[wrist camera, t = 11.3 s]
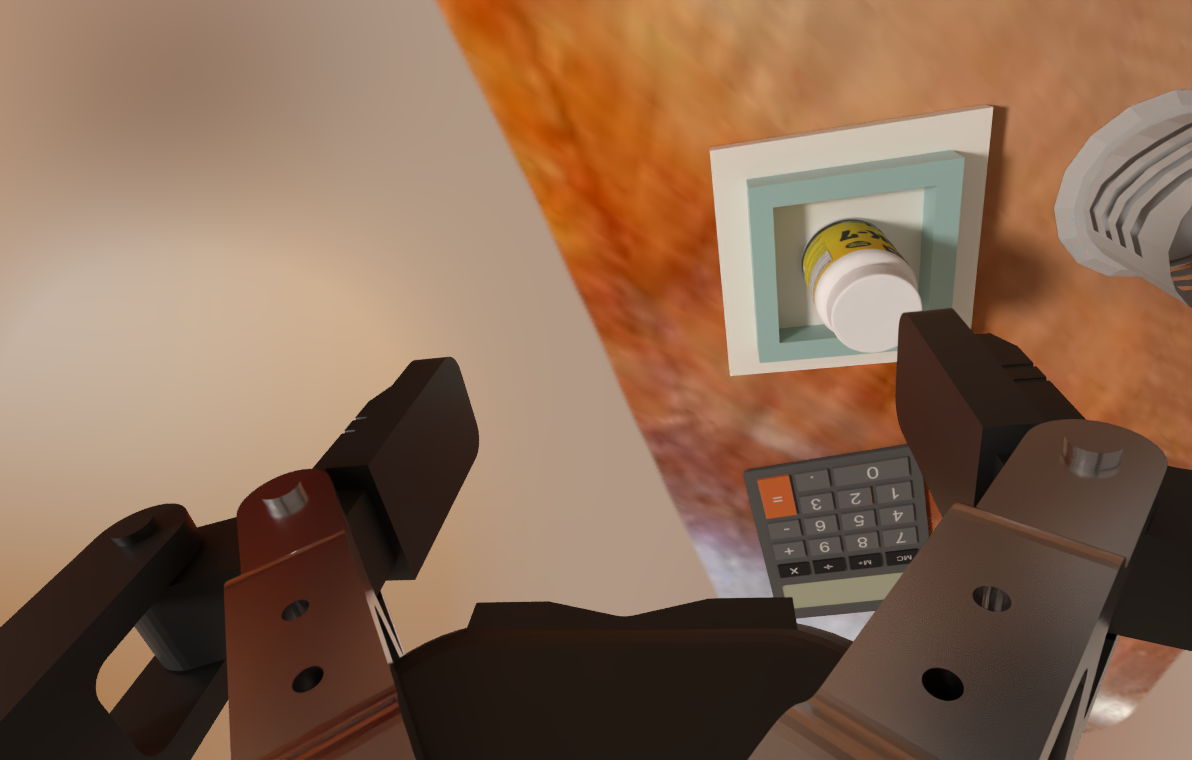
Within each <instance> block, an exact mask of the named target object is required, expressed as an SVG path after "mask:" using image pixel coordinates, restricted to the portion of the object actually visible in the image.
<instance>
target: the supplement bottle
mask: <svg viewBox="0 0 1192 760" xmlns="http://www.w3.org/2000/svg"><path fill="white" fill-rule="evenodd" d="M801 265H802V272H803V276H804V278H805V281H806V284H807V287H808V289H809V292H810V295H811V297H812V300H813V303H814V305H815V308H816V311H817V313H818V315H819V317H820V319H821V320H822V322H823V323H824V324H825V325H826V327H827V328H829V329H830V330H831V331H832V332H834V333H835V335H836V336H837V338H838V339H839V340H840V341H841V342H842V343H843V344H844V345H846V346H847V347H849V348H851V349H853V350H856V351H859V352H865V353H877V352H883V351H886V350H889V349H892V348H894V347H896V346H898V328H899V320H900V317H901V315H902V313H904V312H914V311H922V301H921V297H920V295H919V293H918V290H917V281H916V277H915V275H914V273H913V271H912V269H911V267H910V266H909V264H908V263H907V262H906V261H905V260H904V258H903V257H902V256H901V255H900V253H899V252H898V251H897V250H896V248H895V247H894V246H893V244H891V242H890V241H889V240H888V239H887V237H886V236H885V235H884V233H883V232H882V231H881V230H880V229H879V228H877V227H876V226H875V225H873V224H872V223H870V222H867V221H865V220H861V219H854V218H845V219H839V220H835V221H832V222H830V223H828V224H826V225H824V226H823V227H821V228H820V229H818V230H817V231H816V232H815V233H814V234H813V235H812V236H811V238H810V239H809V240H808V242H807V244H806V246H805V248H804V251H803V254H802V261H801Z"/></svg>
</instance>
